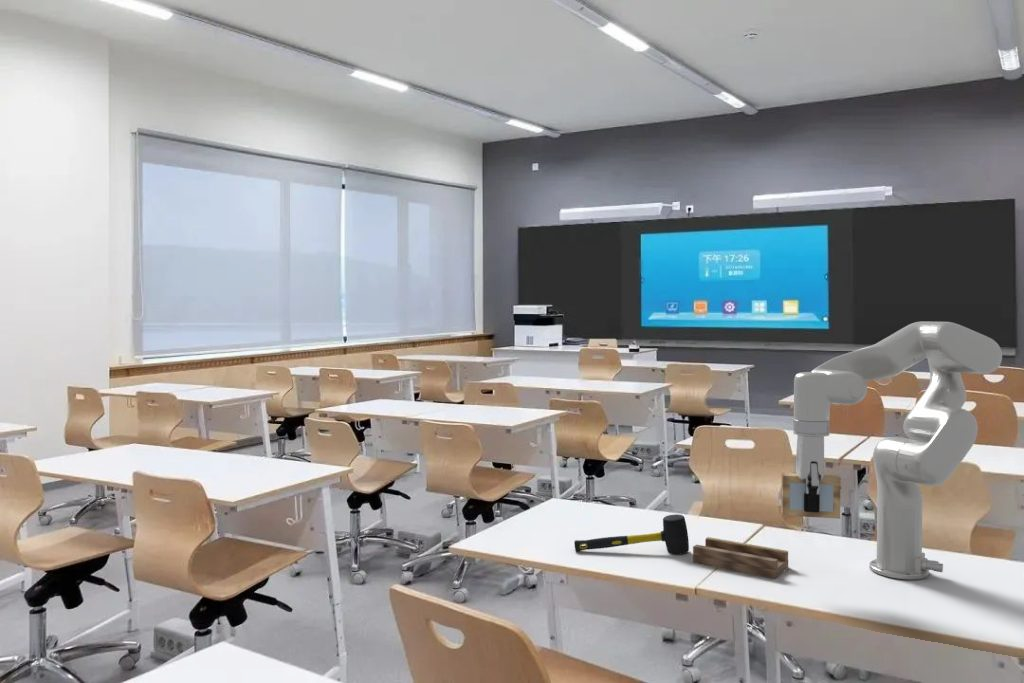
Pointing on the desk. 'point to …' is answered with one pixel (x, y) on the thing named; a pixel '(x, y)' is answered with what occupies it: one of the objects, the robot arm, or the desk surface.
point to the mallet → (647, 537)
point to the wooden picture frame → (795, 496)
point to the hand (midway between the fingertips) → (810, 508)
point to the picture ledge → (741, 557)
